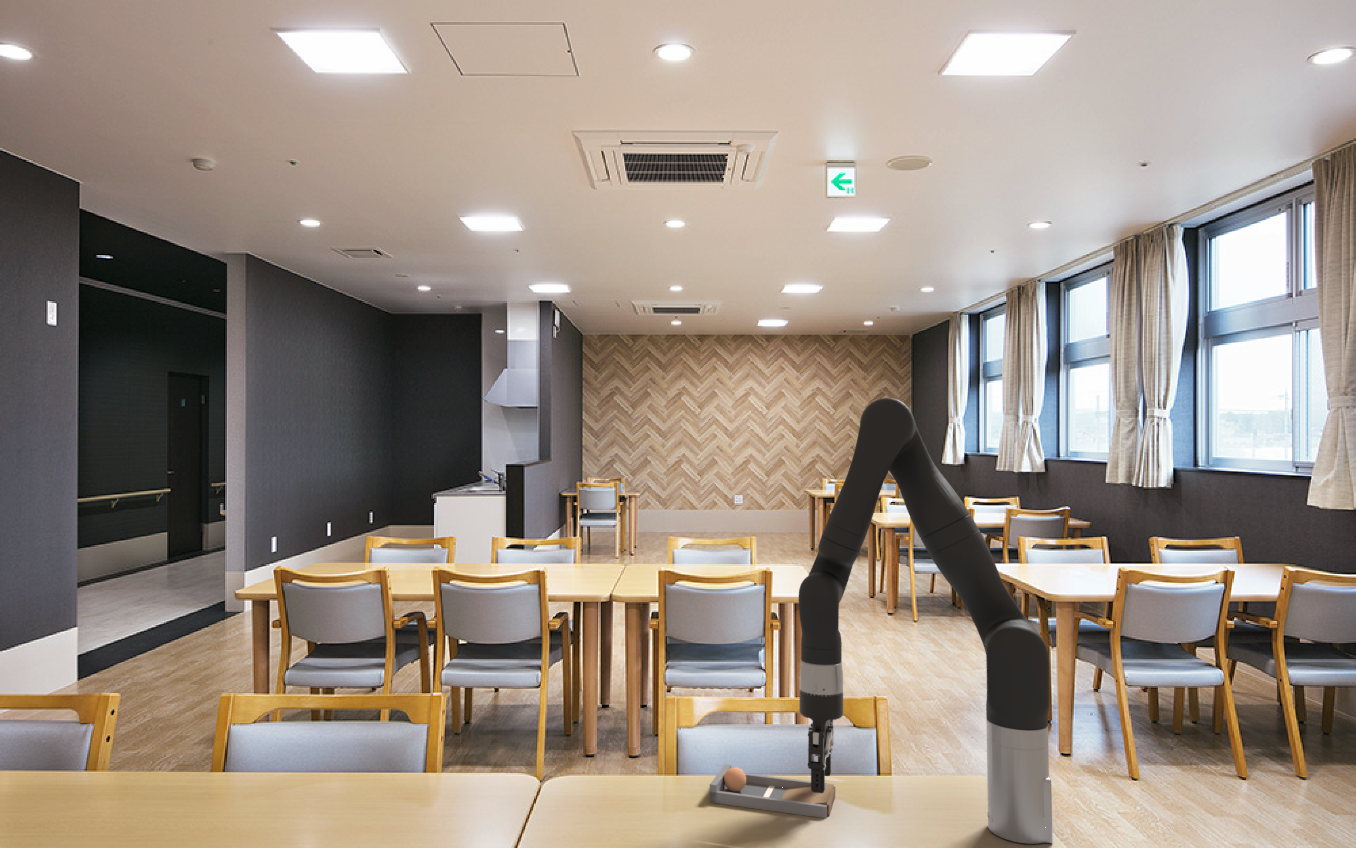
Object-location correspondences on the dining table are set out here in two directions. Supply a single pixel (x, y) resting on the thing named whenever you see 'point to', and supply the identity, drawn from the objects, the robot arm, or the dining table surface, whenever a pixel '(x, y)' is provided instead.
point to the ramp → (812, 796)
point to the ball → (735, 779)
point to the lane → (764, 794)
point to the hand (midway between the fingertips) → (821, 783)
